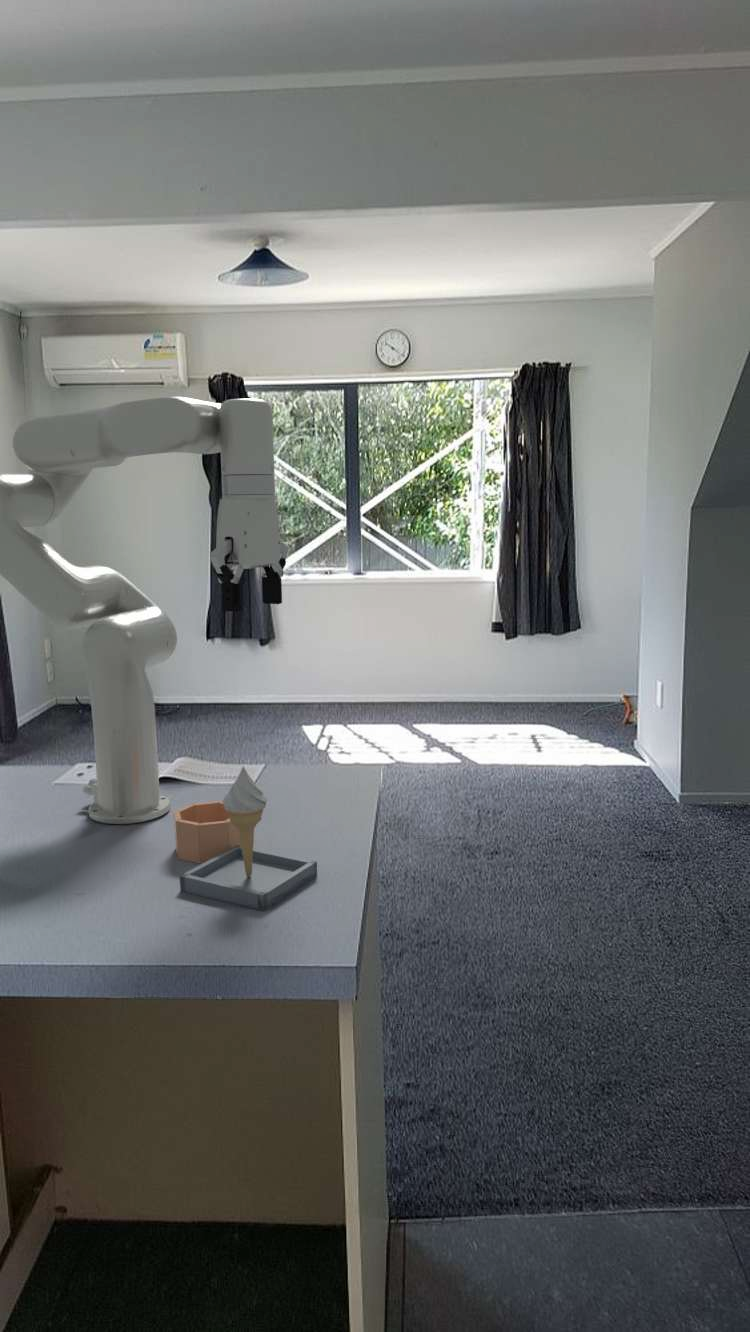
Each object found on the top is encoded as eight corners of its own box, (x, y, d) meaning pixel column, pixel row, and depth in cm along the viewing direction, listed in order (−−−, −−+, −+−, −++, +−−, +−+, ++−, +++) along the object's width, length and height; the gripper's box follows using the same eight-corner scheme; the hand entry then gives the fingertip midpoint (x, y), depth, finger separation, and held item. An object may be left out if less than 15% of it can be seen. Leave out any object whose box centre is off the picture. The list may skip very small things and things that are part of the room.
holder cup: (162, 855, 134) (160, 817, 133) (206, 833, 142) (204, 798, 141) (216, 867, 129) (214, 828, 128) (258, 844, 138) (257, 807, 137)
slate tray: (180, 890, 122) (179, 875, 122) (237, 858, 132) (237, 845, 132) (263, 910, 116) (263, 895, 115) (317, 875, 126) (316, 861, 126)
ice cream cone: (262, 887, 121) (257, 773, 118) (220, 884, 122) (214, 771, 119) (275, 870, 126) (271, 760, 123) (234, 867, 127) (229, 758, 124)
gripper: (262, 488, 146) (266, 599, 149) (188, 489, 131) (194, 612, 135) (303, 487, 143) (306, 602, 146) (232, 488, 128) (237, 615, 131)
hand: (253, 607), depth 140 cm, fingers open, 9 cm apart
